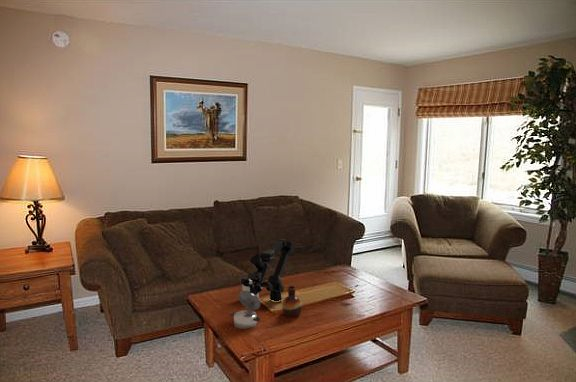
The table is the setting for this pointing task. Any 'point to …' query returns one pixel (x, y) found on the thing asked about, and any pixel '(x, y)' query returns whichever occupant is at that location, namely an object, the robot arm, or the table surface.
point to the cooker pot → (245, 319)
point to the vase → (291, 303)
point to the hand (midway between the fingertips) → (250, 298)
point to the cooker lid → (249, 300)
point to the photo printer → (248, 289)
